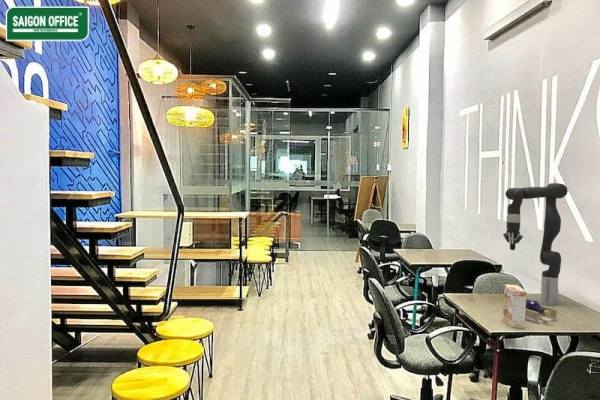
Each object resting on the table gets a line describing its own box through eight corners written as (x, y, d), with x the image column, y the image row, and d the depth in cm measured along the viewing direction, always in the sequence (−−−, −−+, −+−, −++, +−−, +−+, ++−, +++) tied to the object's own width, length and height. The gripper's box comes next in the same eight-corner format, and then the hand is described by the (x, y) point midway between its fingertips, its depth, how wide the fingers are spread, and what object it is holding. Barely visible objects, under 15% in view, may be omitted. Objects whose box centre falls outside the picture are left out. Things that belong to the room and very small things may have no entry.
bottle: (506, 307, 294) (538, 318, 265) (511, 292, 295) (544, 301, 266) (519, 312, 296) (553, 324, 266) (524, 298, 297) (559, 307, 267)
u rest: (534, 314, 288) (534, 303, 287) (556, 320, 275) (556, 309, 275) (514, 316, 280) (515, 306, 280) (536, 323, 268) (537, 312, 268)
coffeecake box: (502, 319, 275) (503, 284, 274) (515, 320, 274) (517, 284, 273) (510, 327, 260) (512, 290, 259) (525, 328, 259) (527, 291, 258)
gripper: (527, 222, 298) (526, 251, 299) (508, 220, 309) (507, 248, 310) (518, 222, 294) (517, 251, 295) (500, 220, 306) (499, 248, 307)
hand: (512, 249), depth 303 cm, fingers closed
